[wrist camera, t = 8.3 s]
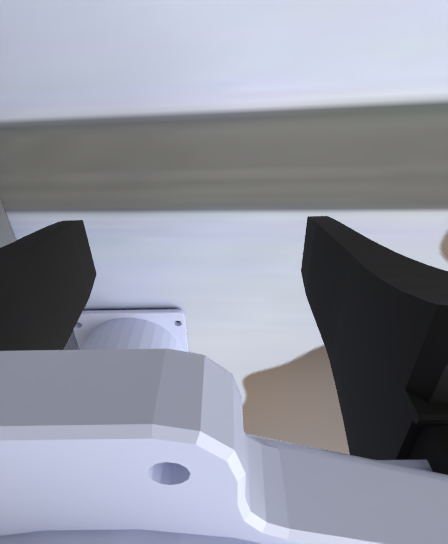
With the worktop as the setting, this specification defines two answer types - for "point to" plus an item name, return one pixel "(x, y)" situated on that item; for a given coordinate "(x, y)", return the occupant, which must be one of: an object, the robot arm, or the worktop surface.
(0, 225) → the mounting plate
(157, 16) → the worktop surface
